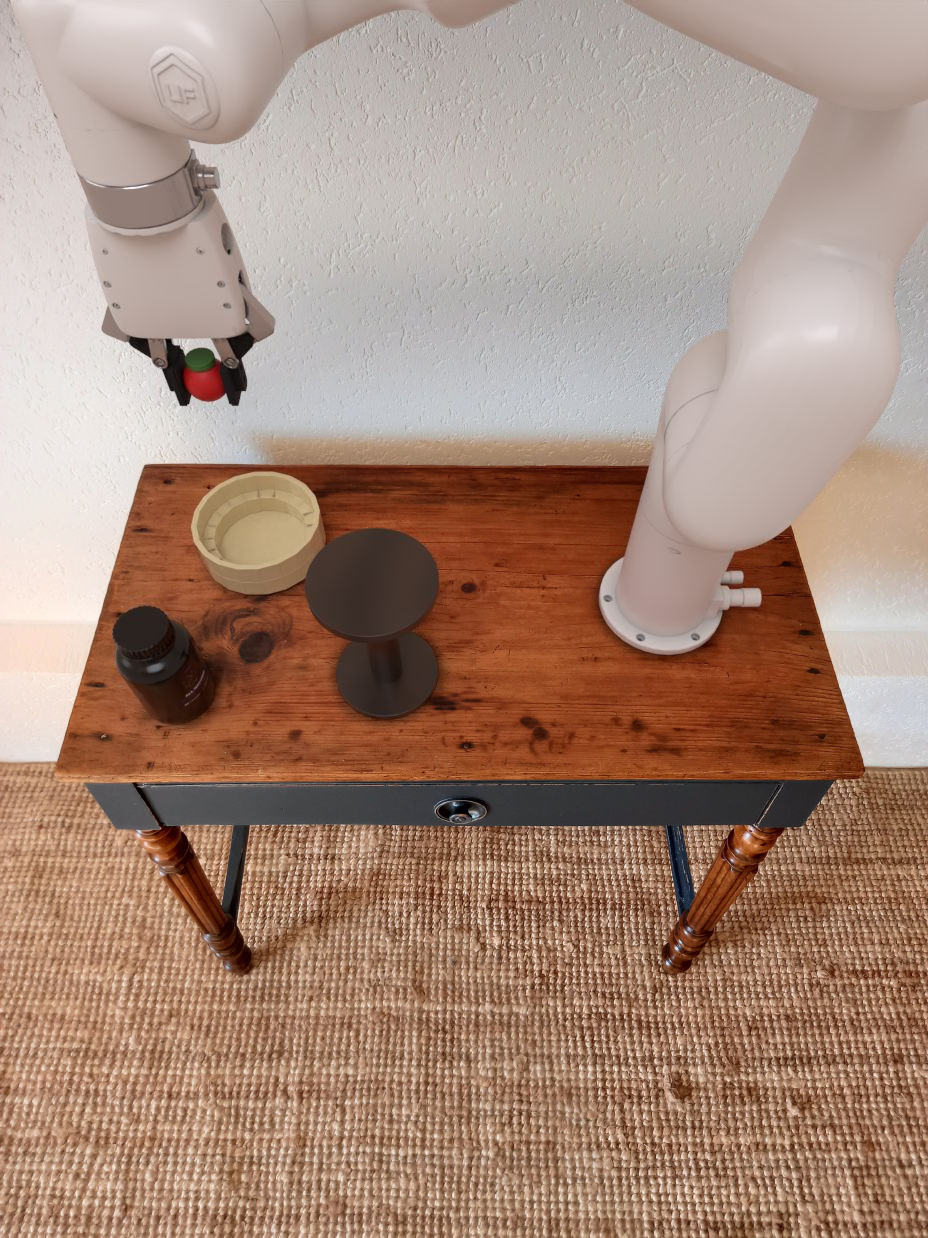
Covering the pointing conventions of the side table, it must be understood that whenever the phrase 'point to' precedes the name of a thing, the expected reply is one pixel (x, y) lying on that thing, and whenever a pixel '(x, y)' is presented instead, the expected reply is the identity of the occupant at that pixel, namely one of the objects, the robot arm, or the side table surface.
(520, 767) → the side table surface
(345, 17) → the robot arm
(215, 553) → the bowl
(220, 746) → the side table surface
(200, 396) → the tomato
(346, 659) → the cake stand
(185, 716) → the supplement bottle
